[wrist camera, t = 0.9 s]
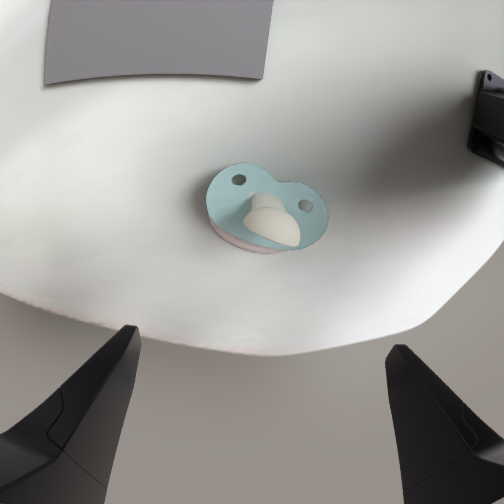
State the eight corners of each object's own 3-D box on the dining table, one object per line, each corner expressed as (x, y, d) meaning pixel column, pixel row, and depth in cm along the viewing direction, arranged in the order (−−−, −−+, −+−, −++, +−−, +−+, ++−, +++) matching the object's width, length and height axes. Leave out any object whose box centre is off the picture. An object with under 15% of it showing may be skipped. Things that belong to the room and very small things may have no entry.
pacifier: (291, 259, 22) (331, 189, 19) (301, 323, 17) (358, 241, 14) (194, 226, 21) (223, 146, 18) (175, 287, 16) (210, 185, 13)
